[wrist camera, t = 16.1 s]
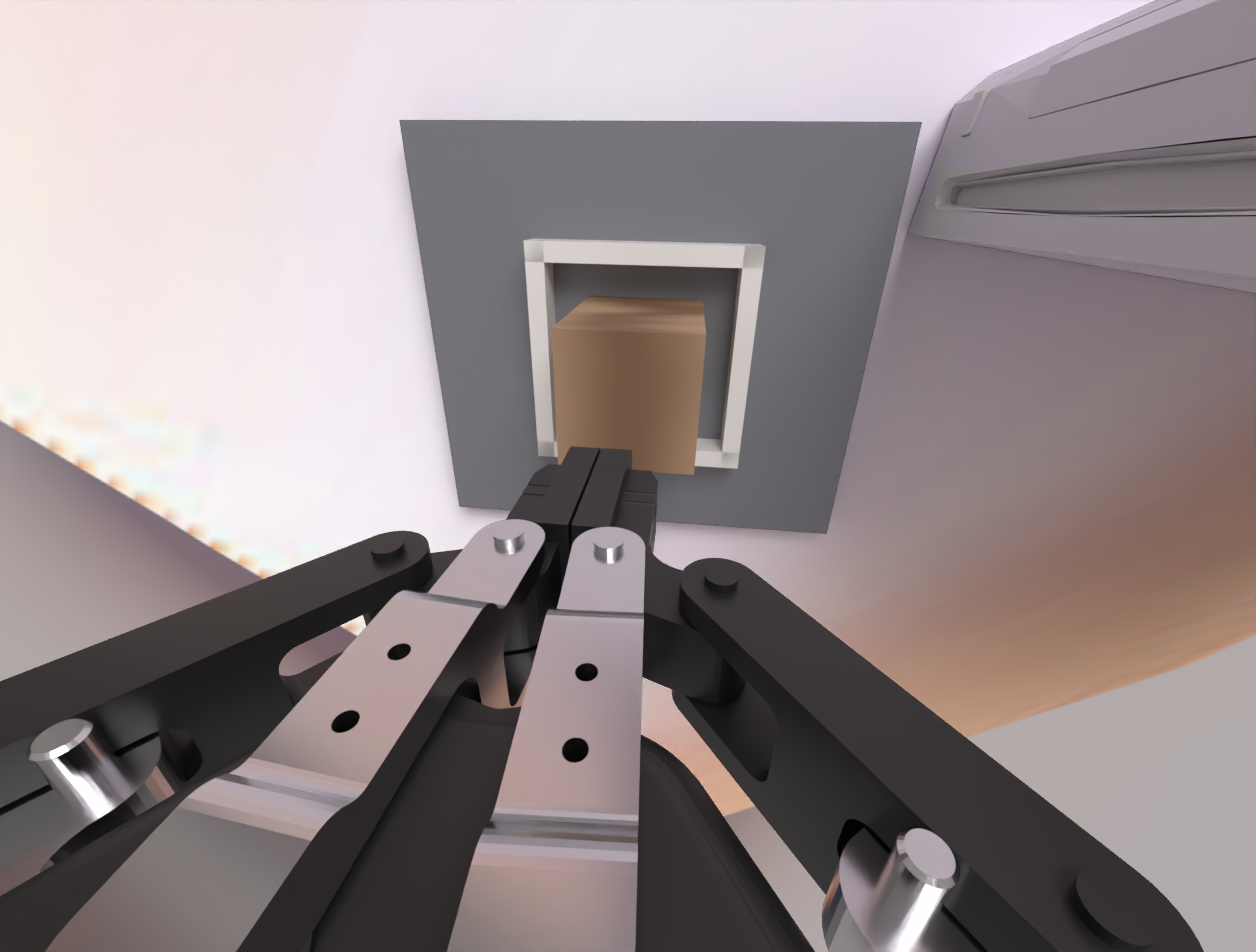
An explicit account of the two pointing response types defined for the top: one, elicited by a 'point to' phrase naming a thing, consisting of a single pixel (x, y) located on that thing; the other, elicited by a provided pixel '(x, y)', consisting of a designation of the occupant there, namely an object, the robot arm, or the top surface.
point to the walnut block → (631, 379)
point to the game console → (1114, 149)
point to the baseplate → (662, 288)
